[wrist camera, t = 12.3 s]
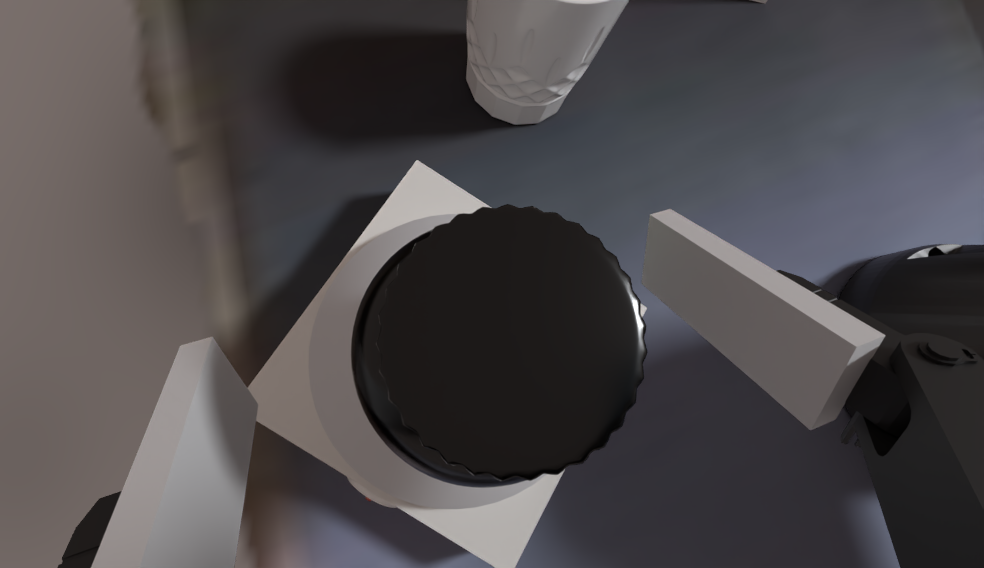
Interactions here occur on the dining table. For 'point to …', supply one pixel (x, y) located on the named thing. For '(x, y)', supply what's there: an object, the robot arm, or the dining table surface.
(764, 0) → the milk
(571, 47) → the white cup
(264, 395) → the dial scale
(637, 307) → the supplement bottle
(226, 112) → the dining table surface
